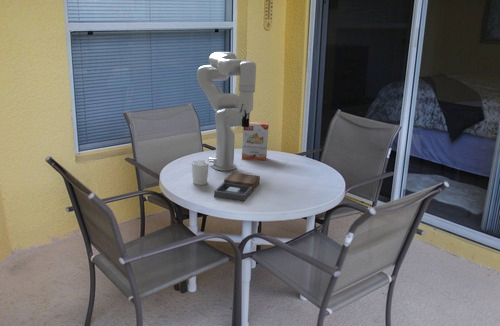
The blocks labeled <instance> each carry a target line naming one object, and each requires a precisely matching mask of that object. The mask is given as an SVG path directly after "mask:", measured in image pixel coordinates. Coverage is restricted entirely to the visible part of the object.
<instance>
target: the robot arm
mask: <svg viewBox="0 0 500 326" xmlns="http://www.w3.org/2000/svg"><path fill="white" fill-rule="evenodd" d="M208 63H209V64H206V65H201V66H200V67H198V69H197V71H196V79H197V83H198V85H199V86H200V88H201V90H202V91H203V93H204V94H205V95H206V98H207V99H208V101H209V103H210V107H211V109H212V110H213V111H214V112H215V114H214V121H215V128H216V130H215V131H216V132H215V133H216V136H215V141H216V142H215V157H214V158H213V157H208V163H212V169H213V170H217V171H221V172H222V171H223V172H228V171H229V172H230V171H234V170H236V169H237V165H236V164H235V163H234V162H235V161H234V160H235V136H236V135H235V133H234V132H233V130H232V129H231V128H233V127H242V128H243V127H249V122H250V118H251V117H250V115H251V112H252V111H253V109H254V93H255V92H256V77H257V63H256V62H254V61H250V60H249V59H246V58H245V59H238V58H237V55H236V54H235V53H234V52H232V51H215V52H213V53H211V54H210V56H209V57H208ZM230 76H231V77H232V76H233V77H234V76H237V77H238V76H239V79H238V80H239V82H238V92H239V95H238V94H237V93H234V92H233V93H225V92H223V90H222V89H221V86H220V85H218V84H217V83H216V82H217V81H218V82H221V81H222V82H223V81H224V82H225V81H227V80H228V79H229V78H230Z"/></svg>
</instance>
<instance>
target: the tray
mask: <svg viewBox="0 0 500 326" xmlns="http://www.w3.org/2000/svg"><path fill="white" fill-rule="evenodd" d="M229 187H235V188H240V194H235V193H229V192H226V190H227V189H228V188H229ZM252 193H253V192H252V186H246V185H239V184H232V183H225V182H224V181H223V182H222V183H221V184H220V185H219V186H218V187H217V188H216V189H215V190H214V192H213V195H214V196H213V197H214V198H217V199H223V200H229V201H236V202H242V203H245V201H246V200H247V199H248V198H249V197H250V196H251V194H252Z"/></svg>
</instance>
